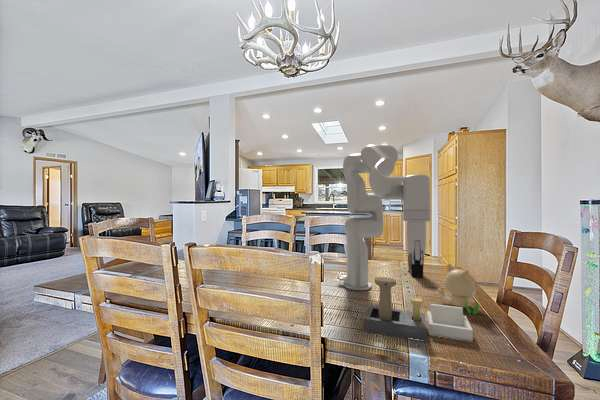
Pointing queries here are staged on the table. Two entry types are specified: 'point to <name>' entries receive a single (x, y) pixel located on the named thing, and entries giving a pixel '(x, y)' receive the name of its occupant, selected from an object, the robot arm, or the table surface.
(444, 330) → the white square bin
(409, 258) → the stone block
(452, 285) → the cream toy figurine
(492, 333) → the table surface
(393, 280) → the handle
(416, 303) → the brass key
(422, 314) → the socket block
